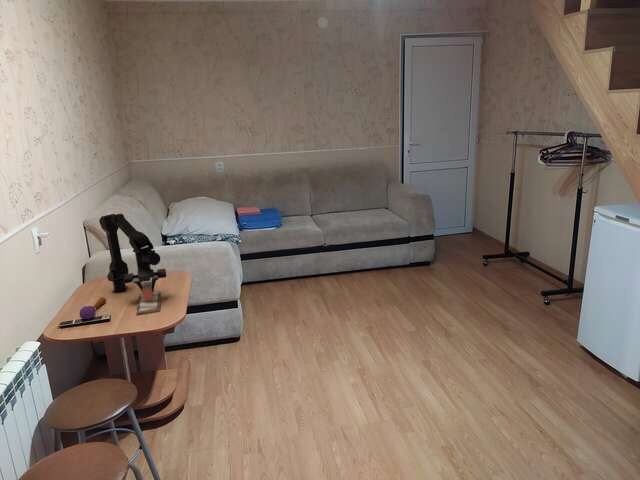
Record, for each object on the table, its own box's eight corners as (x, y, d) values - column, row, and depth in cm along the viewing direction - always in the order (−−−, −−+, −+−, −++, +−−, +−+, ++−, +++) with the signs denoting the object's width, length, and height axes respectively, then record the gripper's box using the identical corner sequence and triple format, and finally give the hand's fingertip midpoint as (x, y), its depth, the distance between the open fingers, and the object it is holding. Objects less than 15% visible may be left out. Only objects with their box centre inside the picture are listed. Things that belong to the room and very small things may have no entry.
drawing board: (139, 296, 230) (139, 293, 230) (160, 292, 233) (160, 290, 233) (136, 315, 208) (136, 313, 208) (160, 311, 211) (159, 309, 211)
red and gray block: (144, 291, 228) (143, 282, 227) (153, 289, 229) (151, 281, 228) (143, 299, 218) (142, 290, 216) (152, 298, 219) (151, 289, 218)
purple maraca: (109, 295, 223) (91, 309, 204) (108, 306, 225) (90, 322, 205) (96, 293, 223) (77, 308, 203) (95, 305, 224) (76, 321, 204)
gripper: (120, 270, 209) (126, 302, 213) (163, 263, 214) (168, 295, 218) (122, 262, 219) (128, 293, 223) (163, 257, 224) (168, 287, 229)
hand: (148, 292), depth 223 cm, fingers closed on red and gray block, 4 cm apart
